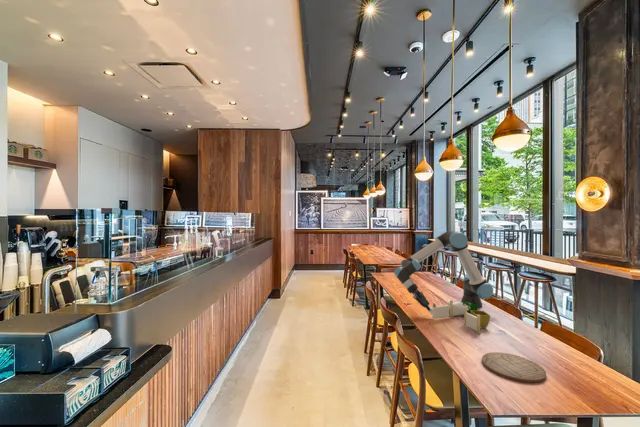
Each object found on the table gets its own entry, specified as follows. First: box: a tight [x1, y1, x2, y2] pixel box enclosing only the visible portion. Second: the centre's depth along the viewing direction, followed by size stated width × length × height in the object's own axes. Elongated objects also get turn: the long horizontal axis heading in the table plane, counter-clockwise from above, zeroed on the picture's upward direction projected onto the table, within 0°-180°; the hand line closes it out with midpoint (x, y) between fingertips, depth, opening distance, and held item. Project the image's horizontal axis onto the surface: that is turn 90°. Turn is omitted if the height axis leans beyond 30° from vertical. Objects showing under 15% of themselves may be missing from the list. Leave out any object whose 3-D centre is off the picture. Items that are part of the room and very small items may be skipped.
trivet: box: [481, 351, 547, 384], centre depth 135 cm, size 25×25×2 cm
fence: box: [449, 300, 481, 335], centre depth 189 cm, size 28×3×12 cm, turn 10°
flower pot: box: [470, 310, 491, 329], centre depth 187 cm, size 9×9×9 cm
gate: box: [432, 303, 450, 320], centre depth 200 cm, size 13×2×10 cm, turn 106°
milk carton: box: [447, 301, 479, 317], centre depth 209 cm, size 9×9×20 cm
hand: (433, 313), depth 202 cm, fingers closed
